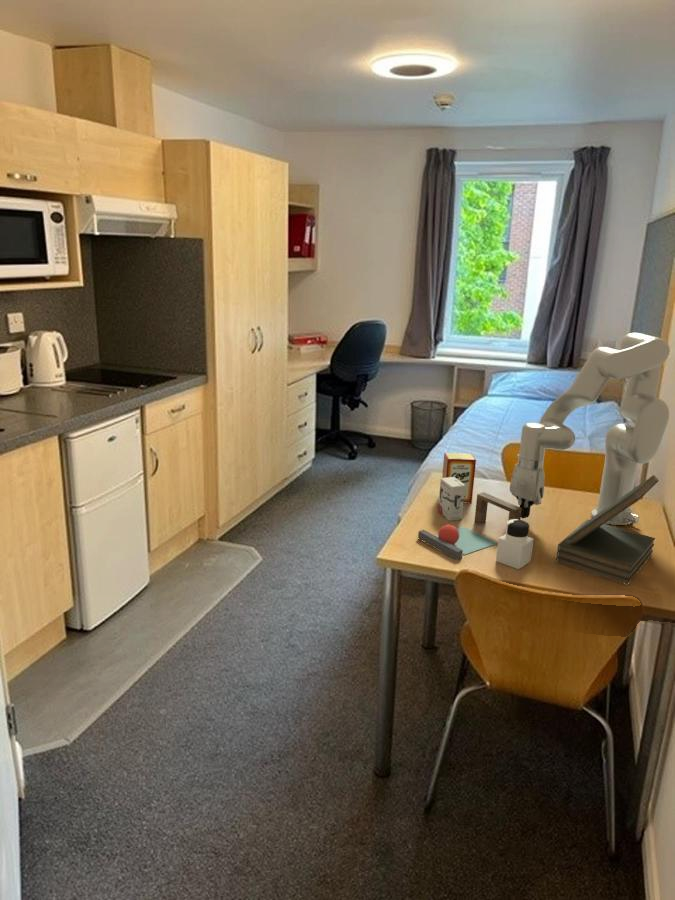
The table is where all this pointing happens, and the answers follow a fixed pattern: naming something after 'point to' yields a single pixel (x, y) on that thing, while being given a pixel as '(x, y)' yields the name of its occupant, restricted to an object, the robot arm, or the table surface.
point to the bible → (608, 542)
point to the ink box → (451, 498)
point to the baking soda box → (461, 471)
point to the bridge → (486, 498)
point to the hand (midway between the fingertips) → (523, 516)
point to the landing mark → (471, 541)
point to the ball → (449, 534)
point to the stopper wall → (440, 544)
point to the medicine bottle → (515, 544)
